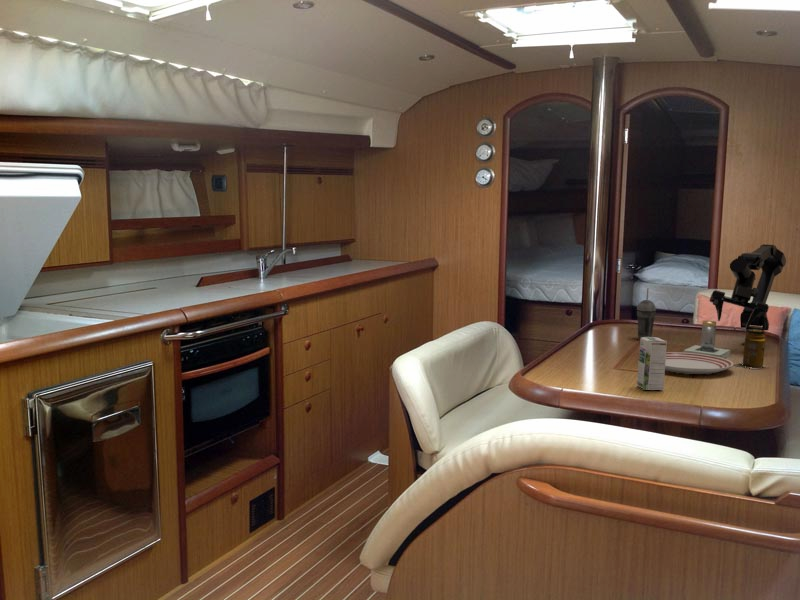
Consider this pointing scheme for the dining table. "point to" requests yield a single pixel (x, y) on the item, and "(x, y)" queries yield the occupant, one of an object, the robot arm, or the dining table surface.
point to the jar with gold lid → (708, 336)
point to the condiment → (753, 349)
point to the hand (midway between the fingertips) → (732, 324)
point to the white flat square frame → (717, 352)
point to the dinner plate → (695, 363)
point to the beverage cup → (645, 317)
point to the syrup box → (651, 363)
